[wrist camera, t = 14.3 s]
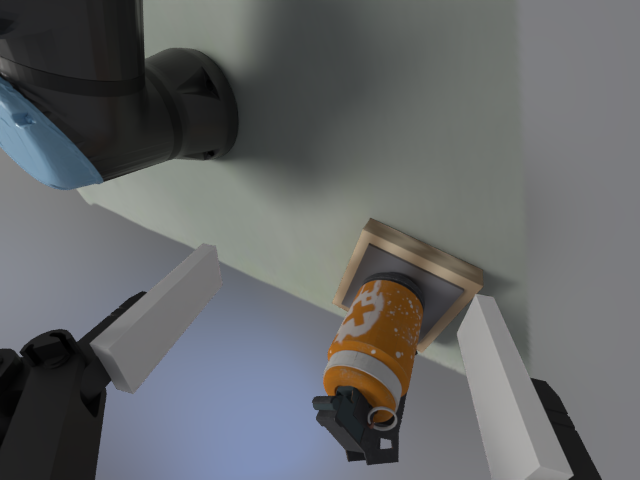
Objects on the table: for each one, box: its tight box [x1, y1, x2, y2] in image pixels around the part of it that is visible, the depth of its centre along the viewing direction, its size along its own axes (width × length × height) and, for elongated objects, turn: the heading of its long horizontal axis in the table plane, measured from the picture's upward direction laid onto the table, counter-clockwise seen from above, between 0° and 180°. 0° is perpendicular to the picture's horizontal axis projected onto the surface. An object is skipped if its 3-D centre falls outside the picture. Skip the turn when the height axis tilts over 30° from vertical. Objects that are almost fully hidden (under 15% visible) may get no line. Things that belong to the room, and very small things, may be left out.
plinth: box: [332, 218, 483, 353], centre depth 41 cm, size 16×16×4 cm
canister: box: [312, 272, 425, 465], centre depth 32 cm, size 9×11×20 cm
